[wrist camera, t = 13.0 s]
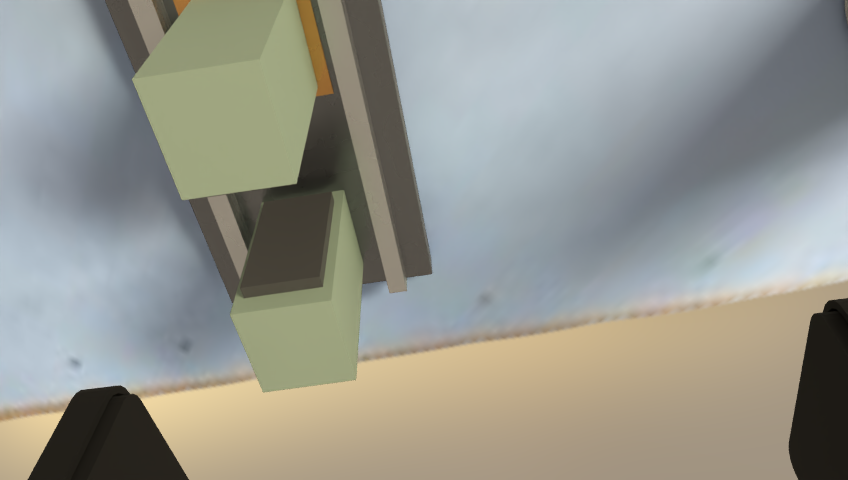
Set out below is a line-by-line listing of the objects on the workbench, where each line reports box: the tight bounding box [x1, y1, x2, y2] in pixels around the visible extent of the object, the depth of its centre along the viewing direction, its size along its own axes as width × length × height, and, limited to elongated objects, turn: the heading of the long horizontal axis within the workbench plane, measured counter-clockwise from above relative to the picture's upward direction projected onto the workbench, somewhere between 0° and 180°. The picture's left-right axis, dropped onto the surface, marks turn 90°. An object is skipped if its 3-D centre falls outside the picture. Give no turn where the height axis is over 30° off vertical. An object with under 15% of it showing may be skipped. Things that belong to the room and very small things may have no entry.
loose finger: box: [132, 0, 318, 200], centre depth 30 cm, size 4×6×9 cm
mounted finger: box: [230, 190, 363, 392], centre depth 36 cm, size 4×6×9 cm
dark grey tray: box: [105, 0, 432, 303], centre depth 36 cm, size 12×20×3 cm, turn 9°
